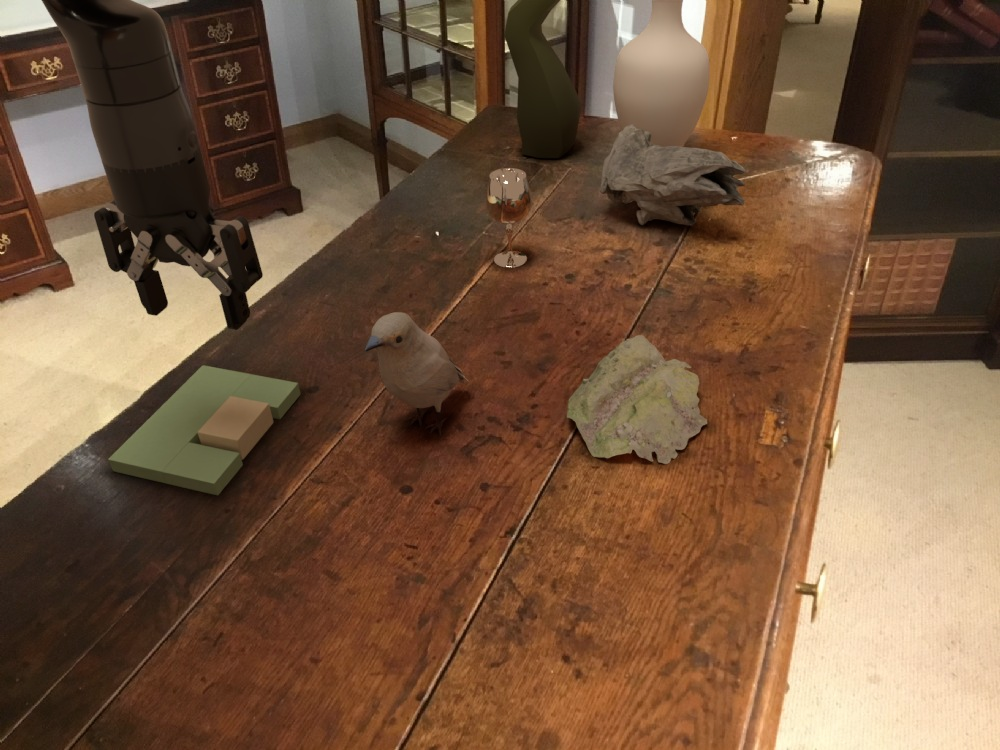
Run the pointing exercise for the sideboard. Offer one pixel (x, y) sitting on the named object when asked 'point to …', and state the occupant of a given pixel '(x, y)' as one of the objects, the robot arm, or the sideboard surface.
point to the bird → (413, 364)
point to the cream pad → (237, 425)
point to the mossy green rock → (637, 404)
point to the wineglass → (508, 208)
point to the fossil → (668, 178)
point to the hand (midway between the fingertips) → (198, 317)
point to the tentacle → (541, 84)
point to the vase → (662, 78)
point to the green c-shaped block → (173, 430)
